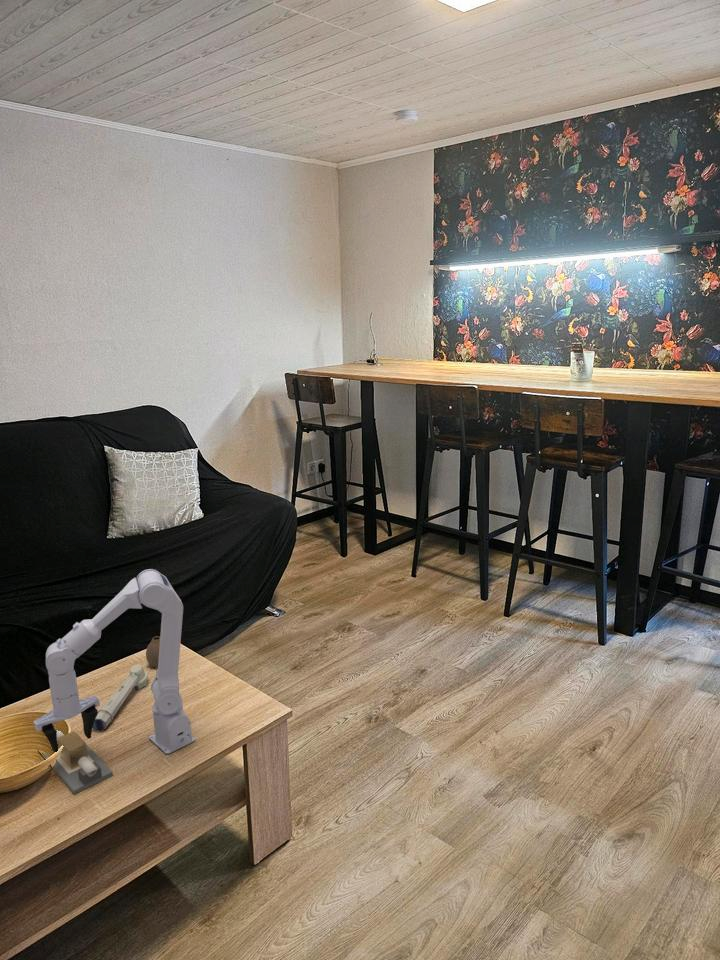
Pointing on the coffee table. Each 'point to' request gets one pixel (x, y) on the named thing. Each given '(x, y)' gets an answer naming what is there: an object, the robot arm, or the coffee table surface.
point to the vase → (153, 652)
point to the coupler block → (72, 749)
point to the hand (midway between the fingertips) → (72, 743)
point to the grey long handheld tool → (121, 696)
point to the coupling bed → (75, 775)
